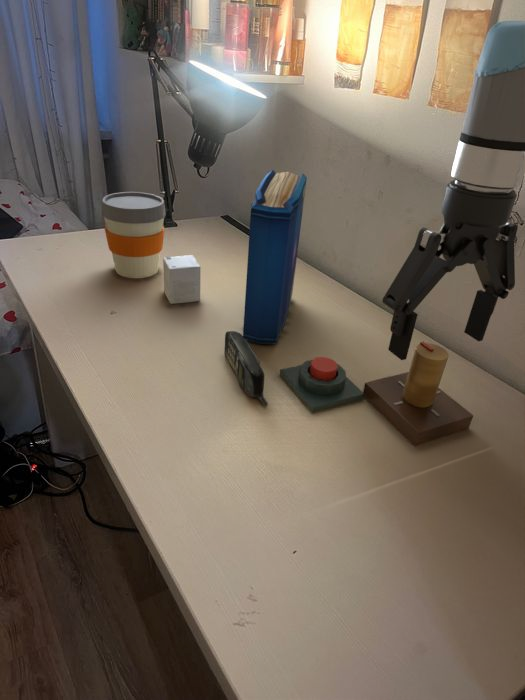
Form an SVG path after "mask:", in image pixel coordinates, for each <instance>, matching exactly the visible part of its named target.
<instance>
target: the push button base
mask: <svg viewBox="0 0 525 700" xmlns="http://www.w3.org/2000/svg"><path fill="white" fill-rule="evenodd" d="M312 360H313V359H310V360H306V361H304V362H303V363H302V364H300V365H294V366H290V367H285V368H281V369H279V373H278V375H279V377H280V378H281V380H283V382H284V383H285V384H286V385H287V386H288V388H289V389H290V390H291V391H292V392H293V393H294V395H295V396H296V397H297V398H298V399H299V400H300V401H301V403H302V404H303V405H304V406H305V407H306V408H307V410H308V411H309V412H310V413H311V414H315V413H319V412H322V411H327V410H330V409H334V408H337V407H341V406H346V405H349V404H354V403H358V402H361V401H363V400H364V399H365V398H364V393H363V390H361V389H360V388H359V387H358V386H357V385H356V384H355V383H354V382H352V380H351V379H349V377H348V376H347V374H346V370H345V369H344V367H342V366H341V365H340V364H339V363H337V366H338V368H337V373H336V377H335V378H334V379H333V380H329V381H325V380H318V379H316V378H314V377H312V376H311V375H310V365H311V361H312Z"/></svg>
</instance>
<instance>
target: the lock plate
mask: <svg viewBox="0 0 525 700" xmlns="http://www.w3.org/2000/svg"><path fill="white" fill-rule="evenodd" d="M408 373H409V371H407V372H403V373H398V374H395V375H390V376H386V377H382V378H378V379H374V380H370V381H365V382H364V385H363V390H362V392H363V393H364V398H363V399H365V400H366V401H367V402H368V403H369V404H370V405H371V406H372V407H373V408H374V409H375V410H376V411H377V412H378V413H379V414H380V415H382V416H383V417H384V419H386V420H387V421H388V422H389V423H390V424H391V425H392V426H393V427H394V428H395V429H396V430H397V431H398V432H399V433H400V434H401V435H402V436H403V437H404V438H405V439H406V440H407V441H408V442H410V444H411V445H412V446H413V447H418V446H421V445H424V444H427V443H430V442H433V441H436V440H440V439H442V438H445V437H448V436H452V435H455V434H457V433H461V432H463V431H468V430H469V429H470V426H471V423H472V421H473V418H474V414H472V413H471V412H470V411H469V410H467V408H465V407H463V406H462V405H461V404H460V403H459V402H457V401H456V400H455V399H453V398H452V397H451V396H450V395H449V394H447V393H446V392H445V391H443V390H442V389H441V388H440V387H438V390H437V393H436V396H435V399H434V402H433V404H432V405H431V406H429V407H417V406H413V405H411V404H409V403H408V402H406V401H405V399H404V398H403V390H404V387H405V383H406V380H407V376H408Z"/></svg>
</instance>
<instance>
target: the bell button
mask: <svg viewBox="0 0 525 700" xmlns="http://www.w3.org/2000/svg"><path fill="white" fill-rule="evenodd" d="M311 360H312V361H311V365H310V375H311V376H312V377H314V378H316V379H318V380H325V381H329V380H333V379H334V378H335V377H336V373H337V368H338V366H337V364H338V363H337V362H336V361H335V360H334V359H332V358H330V357H326V356H318V357H314V358H313V359H311Z"/></svg>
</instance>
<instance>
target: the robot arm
mask: <svg viewBox="0 0 525 700" xmlns="http://www.w3.org/2000/svg"><path fill="white" fill-rule="evenodd" d="M473 76H474V77H473V82H472V86H471V89H470V94H469V98H468V103H467V106H466V111H465V115H464V119H463V125H462V129H461V132H460V136H459V140H458V143H457V147H456V151H455V155H454V159H453V163H452V167H451V171H450V175H449V176H451V178H452V180H451V181H450V182H448V183H447V185H446V189H445V193H444V197H443V201H442V204H441V213H442V217H443V224H442V226H441V227H440V229H439V230H431V229H429V228H427V227H422V228H421V229H419V231H418V234H417V237H416V240H415V242H414V246H413V248H412V250H411V251H410V253H409V255H408V256H407V257H406V259H405V261H404V263H403V265H402V266H401V267H400V269H399V271H398V273H397V274H396V276H395V278H394V279H393V281H392V283H391V284H390V286H389V287H388V289H387V291H386V293H385V294H384V295H383V298H382V304H384V305H385V306H387V307H388V308H389V309H391V310H392V311H393V314H392V319H391V323H390V327H389V329H390V332H391V336H390V340H389V344H388V351H389V352H390V353H392V354H393V355H394V356H395V357H397V358H398V359H399V360H401V361H405V360H407V357H408V354H409V350H410V345H411V342H412V338H413V334H414V330H415V326H416V323H417V319H418V314H419V313H417V312H415V310H416V309H417V307H418V306H420V304H421V303H422V302H423V301H424V299H425V298H426V297H427V296H428V295H429V294H430V293H431V291H433V289H434V288H435V287H436V285H437V284H438V283H439V282H440V281H441V280H442V279H443V277H444V276H445V275H446V274H447V273H452V272H453V271H454V270H455V269H456V267H462V266H464V265H467V264H470V265H474V269H475V270H476V274H477V276H478V278H479V281H480V283H481V287H482V288H483V289H479V290H476V293H475V296H474V300H473V303H472V306H471V309H470V312H469V316H468V318H467V321H466V325H465V328H464V331H463V332H464V333H465V334H466V335H468V336H469V337H470V338H472V339H474V340H475V341H476V342H482V341H484V337H485V334H486V332H487V329H488V326H489V324H490V323H489V322H490V320H491V317H492V315H493V313H494V311H495V308H496V305H497V303H498V299H502V300H505V299H507V297H509V291H512V290H513V289H514V288H515V285H516V270H515V269H516V267H515V265H516V263H515V261H516V260H515V241H516V240H515V239H516V237H517V232H518V230H519V229H518V227H519V226H518V225H517V224H515V223H513V222H511V221H510V219H511V215H512V212H513V209H514V206H515V203H516V199H517V196H518V194H517V193H516V192H517V191H515V189H517V188H519V187H520V186H522V182H523V180H524V178H525V177H524V176H525V20H502V21H498V22H496V23H495V24H494V25H493V26H491V28H490V29H489V30H488V32H487V34H486V37H485V40H484V42H483V45H482V48H481V52H480V55H479V59H478V62H477V65H476V69H475V70H474V73H473ZM441 256H442V257H443V258H442V257H441Z"/></svg>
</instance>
